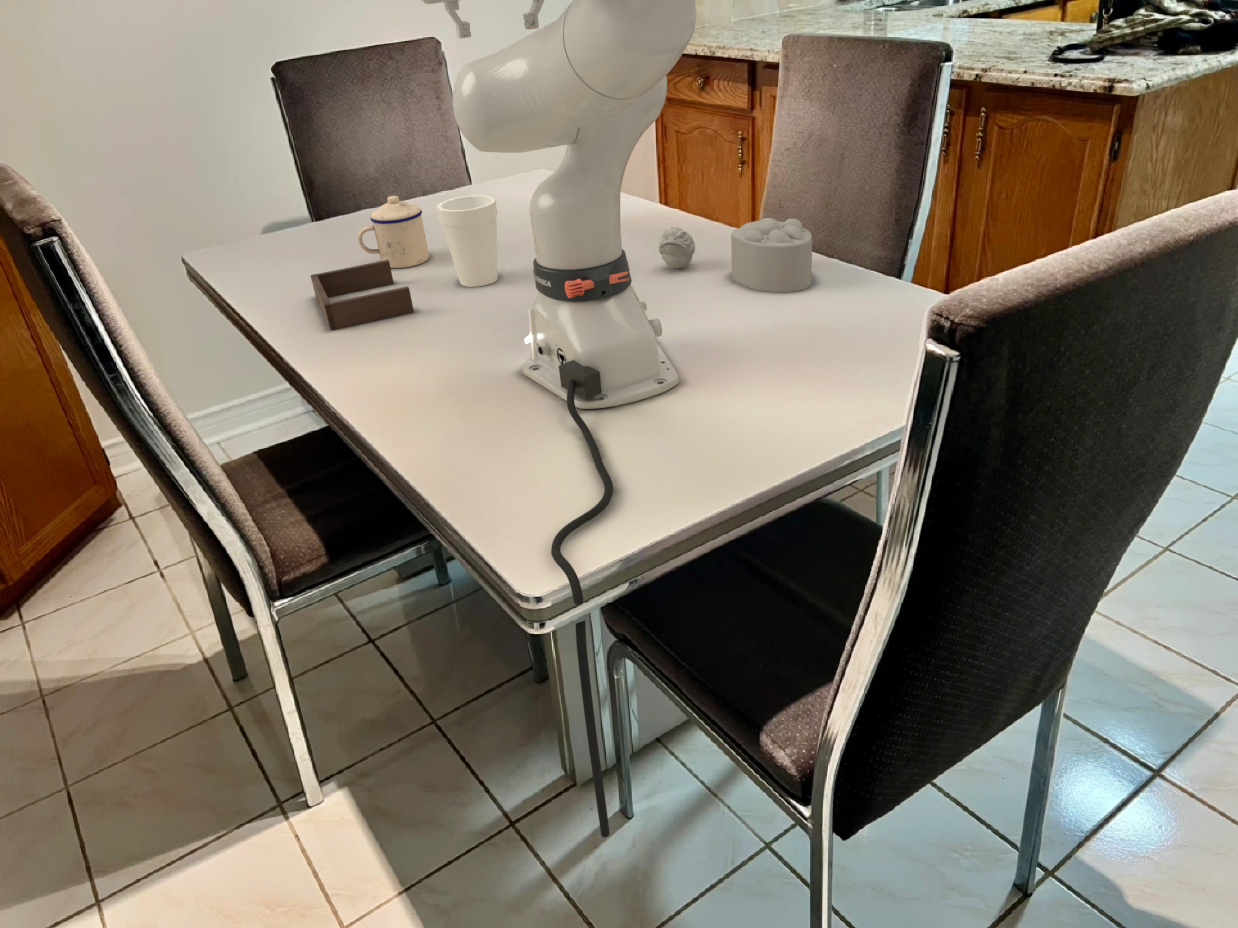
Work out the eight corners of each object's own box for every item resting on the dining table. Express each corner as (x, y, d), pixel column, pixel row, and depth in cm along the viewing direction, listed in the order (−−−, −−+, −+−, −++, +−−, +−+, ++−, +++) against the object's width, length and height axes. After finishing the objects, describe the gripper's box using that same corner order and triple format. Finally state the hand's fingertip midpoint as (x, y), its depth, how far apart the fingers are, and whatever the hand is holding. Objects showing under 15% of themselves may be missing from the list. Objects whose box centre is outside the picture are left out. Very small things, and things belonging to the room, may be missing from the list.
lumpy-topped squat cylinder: (775, 261, 154) (775, 209, 150) (828, 281, 144) (830, 225, 140) (723, 276, 150) (721, 223, 145) (774, 298, 140) (774, 241, 135)
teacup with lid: (425, 249, 176) (413, 187, 170) (435, 262, 169) (423, 197, 163) (361, 262, 173) (346, 198, 167) (368, 275, 165) (353, 210, 159)
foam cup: (444, 278, 161) (430, 202, 154) (496, 267, 164) (484, 192, 157) (460, 294, 153) (446, 214, 146) (514, 281, 156) (502, 203, 150)
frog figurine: (654, 274, 153) (651, 232, 150) (666, 260, 159) (663, 219, 155) (690, 276, 151) (688, 233, 148) (701, 261, 157) (699, 220, 154)
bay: (414, 312, 148) (409, 287, 146) (330, 330, 144) (324, 305, 142) (392, 282, 161) (388, 259, 159) (316, 297, 157) (310, 275, 155)
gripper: (409, -78, 112) (428, 47, 120) (569, -92, 118) (576, 27, 126) (397, -82, 117) (416, 38, 125) (552, -96, 123) (560, 19, 131)
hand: (498, 32), depth 126 cm, fingers open, 8 cm apart
